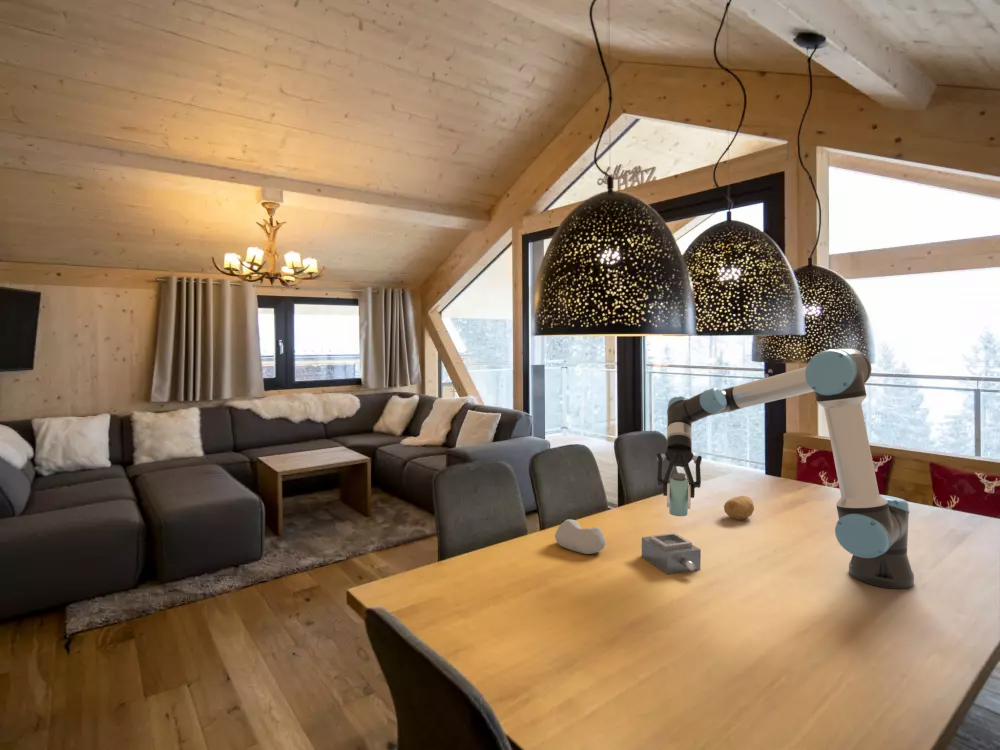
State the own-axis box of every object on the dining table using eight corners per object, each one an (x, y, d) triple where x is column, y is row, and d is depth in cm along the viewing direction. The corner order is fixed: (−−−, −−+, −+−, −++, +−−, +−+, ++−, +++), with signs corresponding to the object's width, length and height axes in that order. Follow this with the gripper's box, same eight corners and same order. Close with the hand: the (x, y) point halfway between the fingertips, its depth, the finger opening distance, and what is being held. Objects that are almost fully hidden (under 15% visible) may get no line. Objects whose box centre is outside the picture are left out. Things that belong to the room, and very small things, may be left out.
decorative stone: (546, 538, 185) (559, 510, 188) (562, 548, 192) (574, 521, 194) (588, 557, 173) (601, 527, 175) (604, 567, 179) (616, 537, 182)
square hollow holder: (709, 575, 162) (709, 550, 162) (675, 580, 159) (675, 554, 159) (669, 549, 181) (669, 527, 181) (638, 554, 178) (638, 531, 178)
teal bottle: (690, 515, 170) (691, 475, 169) (675, 517, 168) (676, 477, 167) (681, 510, 175) (681, 471, 174) (665, 511, 173) (666, 472, 172)
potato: (760, 516, 213) (760, 495, 212) (745, 526, 203) (745, 503, 202) (733, 511, 220) (734, 490, 219) (718, 520, 210) (718, 498, 209)
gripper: (708, 448, 182) (710, 514, 168) (649, 445, 187) (646, 509, 173) (710, 434, 177) (712, 502, 162) (649, 431, 182) (646, 497, 167)
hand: (678, 505), depth 168 cm, fingers closed on teal bottle, 5 cm apart
